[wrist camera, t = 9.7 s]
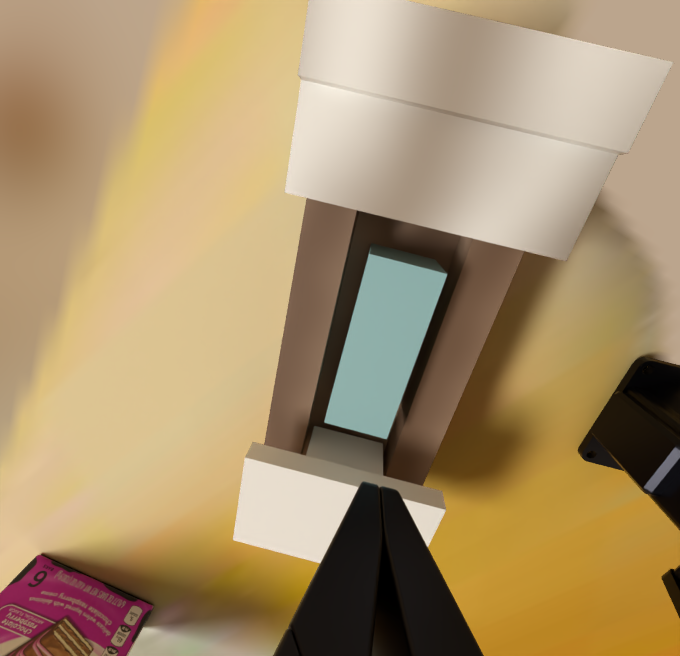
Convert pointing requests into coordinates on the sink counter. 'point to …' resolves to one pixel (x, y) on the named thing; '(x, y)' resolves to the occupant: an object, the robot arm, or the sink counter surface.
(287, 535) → the sliding cap
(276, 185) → the sink counter surface
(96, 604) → the candy bar box
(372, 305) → the teal rectangular block
